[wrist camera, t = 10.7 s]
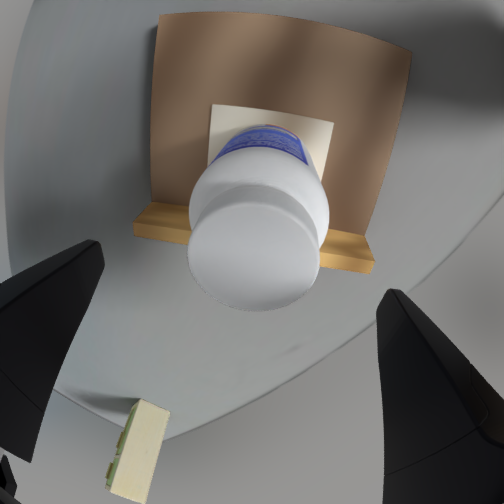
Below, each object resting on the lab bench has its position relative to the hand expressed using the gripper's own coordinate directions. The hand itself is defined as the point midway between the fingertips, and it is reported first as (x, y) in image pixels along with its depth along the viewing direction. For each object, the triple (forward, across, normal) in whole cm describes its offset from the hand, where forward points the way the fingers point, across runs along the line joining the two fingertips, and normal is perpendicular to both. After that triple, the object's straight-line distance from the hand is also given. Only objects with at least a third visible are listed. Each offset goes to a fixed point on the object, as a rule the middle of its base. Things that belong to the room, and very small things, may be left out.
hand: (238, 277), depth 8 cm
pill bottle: (+10, 0, 0) cm, 10 cm away
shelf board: (+12, 0, -3) cm, 12 cm away
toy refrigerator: (+12, +16, +49) cm, 53 cm away
